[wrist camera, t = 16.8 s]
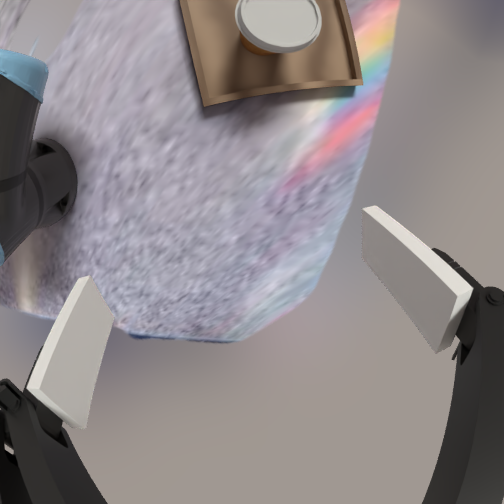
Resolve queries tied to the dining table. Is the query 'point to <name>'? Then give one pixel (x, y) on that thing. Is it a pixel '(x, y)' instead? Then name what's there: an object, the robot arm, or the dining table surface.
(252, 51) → the disposable coffee cup
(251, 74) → the serving tray
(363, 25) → the dining table surface
